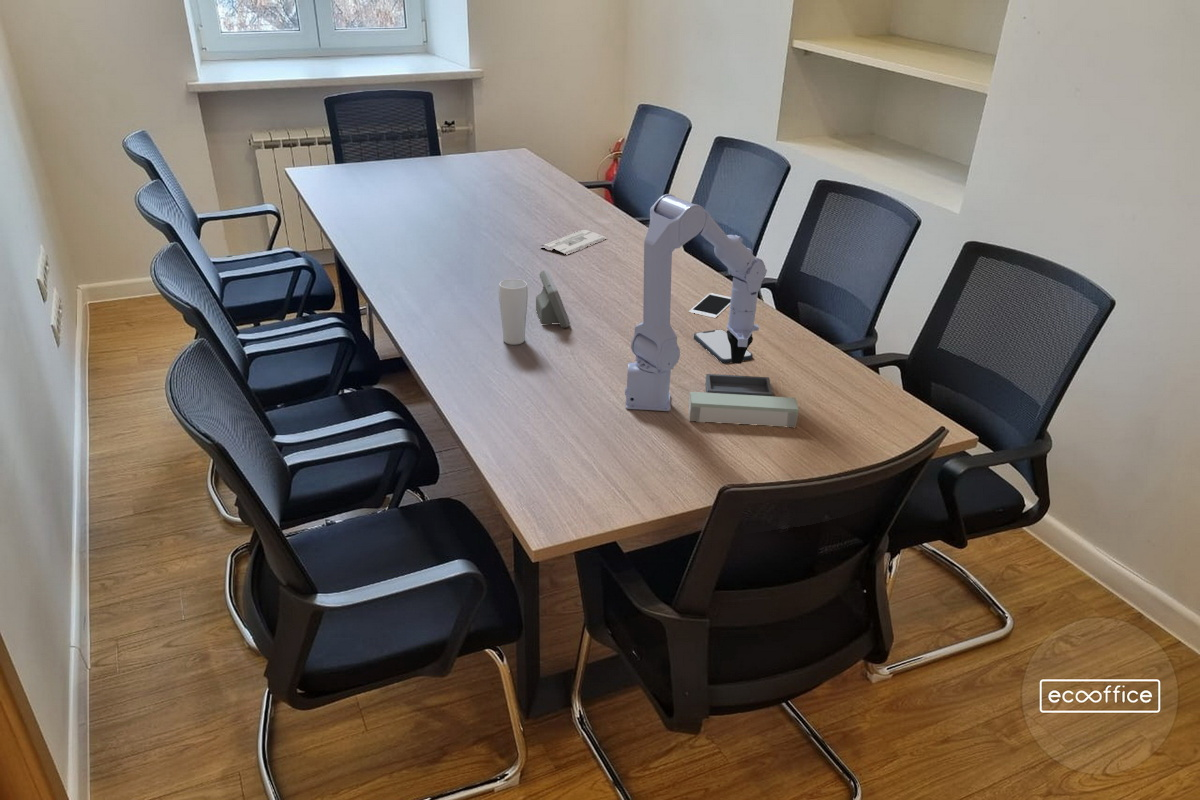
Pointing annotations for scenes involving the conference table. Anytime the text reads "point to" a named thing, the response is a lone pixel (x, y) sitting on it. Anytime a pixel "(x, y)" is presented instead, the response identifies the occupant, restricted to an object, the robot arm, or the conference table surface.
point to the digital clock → (550, 303)
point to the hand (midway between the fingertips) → (736, 362)
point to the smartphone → (718, 345)
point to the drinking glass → (513, 310)
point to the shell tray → (738, 385)
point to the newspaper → (575, 241)
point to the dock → (743, 409)
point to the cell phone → (711, 305)
